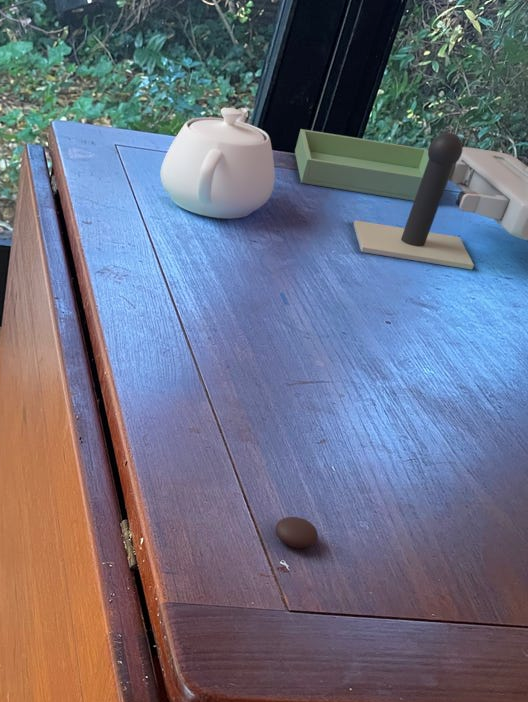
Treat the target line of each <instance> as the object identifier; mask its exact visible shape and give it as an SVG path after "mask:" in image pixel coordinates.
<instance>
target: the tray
mask: <svg viewBox="0 0 528 702" xmlns="http://www.w3.org/2000/svg"><path fill="white" fill-rule="evenodd" d="M428 150H429V148H421V147H417V146H410V145H404V144H397V143H391V142H386V141H378V140H372V139H365V138H361V137H354V136H348V135H341V134H334V133H328V132H323V131H317V130H316V131H315V130H310V129H303V128H300V130H299V133H298V138H297V141H296V146H295V148H294V155H295V159H296V164H297V169H298V173H299V179H300V183H301V184H306V185H313V186H317V187H318V186H319V187H325V188H330V189H331V188H332V189H338V190H342V191H343V190H344V191H350V192H356V193H362V194H369V195H374V196H381V197H387V198H393V199H400V200H406V201H411V202H412V201H413V202H414V200H415V197H416V195H417V192H418V189H419V186H420V183H421V180H422V177H423V174H424V172H425V169H426V166H427V163H428V160H429V157H428Z"/></svg>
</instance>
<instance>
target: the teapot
mask: <svg viewBox="0 0 528 702" xmlns="http://www.w3.org/2000/svg"><path fill="white" fill-rule="evenodd" d="M220 114H221V116H222V117H223V118H222V117H212V116H210V117H209V116H208V117H207V116H206V117H205V116H204V117H196V118H191V119H188V120H187V121H186V122H185V123H184V124H183V126H182V127H181V129H180V130H179V131H178V134H177V135H175V138H174V139H173V141H172V143H171V144H170V146H169V148H168V150H167V152H166V154H165V156H164V158H163V160H162V164H161V167H160V173H159V175H160V180H161V184H162V187H163V189H164V190H165V192H166V193H167V194H168V196H169V197H170V199H171V201H172V202H173V203H174V204H175V205H176V206H178V207H179V208H181V209H182V210H186V211H188V212H191V213H194V214H196V215H200V216H204V217H209V218H216V219H239V218H240V219H241V218H244V217H247V216H249V215H251V214H252V213H253V212H255V211H256V210H258V209H260V208H262V207H263V206H264V205H265V204H266V203H267V202H268V201H269V199H270V198H271V197H272V195H273V192H274V186H275V177H276V175H275V174H276V173H275V172H276V171H275V160H274V153H273V147H272V142H271V138H270V136H269V134H268V133H267V132H266V131H265V130H263V129H261V128H259V127H257V126H255V125H252V124H249V123H246V119H247V116H248V109H247V108H245V107H240V108H238V109H237V108H234V107H221V109H220Z"/></svg>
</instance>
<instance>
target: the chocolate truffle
mask: <svg viewBox="0 0 528 702" xmlns="http://www.w3.org/2000/svg"><path fill="white" fill-rule="evenodd" d="M274 531H275V535H276V537H277V538H278V540H279V541H280V542H282V543H283V544H284V545H286V546H288V547H291V548H296V549H305V548H309V547H311V546H313V545H314V544H316V542H317V540H318V530H317V529H316V527H315V526H314V525H313V524H312V523H311V522H310V521H309V520H307V519H304V518H303V517H298V516H288V517H284V518H281V519H280V520H279V521H278V522H277V523H276V525H275V529H274Z"/></svg>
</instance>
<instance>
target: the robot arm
mask: <svg viewBox="0 0 528 702" xmlns="http://www.w3.org/2000/svg"><path fill="white" fill-rule="evenodd" d="M448 182H450V183H452V184H453V185H454V186H456V188H458V189H459V190H460V192H459V194H458V195H457V196H458V197H457V200H456V202H455V206H456V207H457V208H458V209H459V210H460V211H461V212H463V213H474V214H477V215H479V216H481V217H486V218H488V219H492V220H494V222H496V223H497V224H498V225H499V226H500V227H501V228H502V229H504V231H506V232H507V233H508V234H509V235H511V236H513V237H515V238H517V239H520V240H524V241H528V166H527V165H526V164H525V163H523V162H522V161H521V160H520V159H518V158H517V157H515V156H514V155H511V154H509V153H505V152H500V151H496V150H489V149H481V148H476V147H469V146H463V150H462V154H461V157H460V158H459V160H458V161H457V162H456V163H455V164H454V165H453V168H452V171H451V174H450V176H449V179H448Z"/></svg>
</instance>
